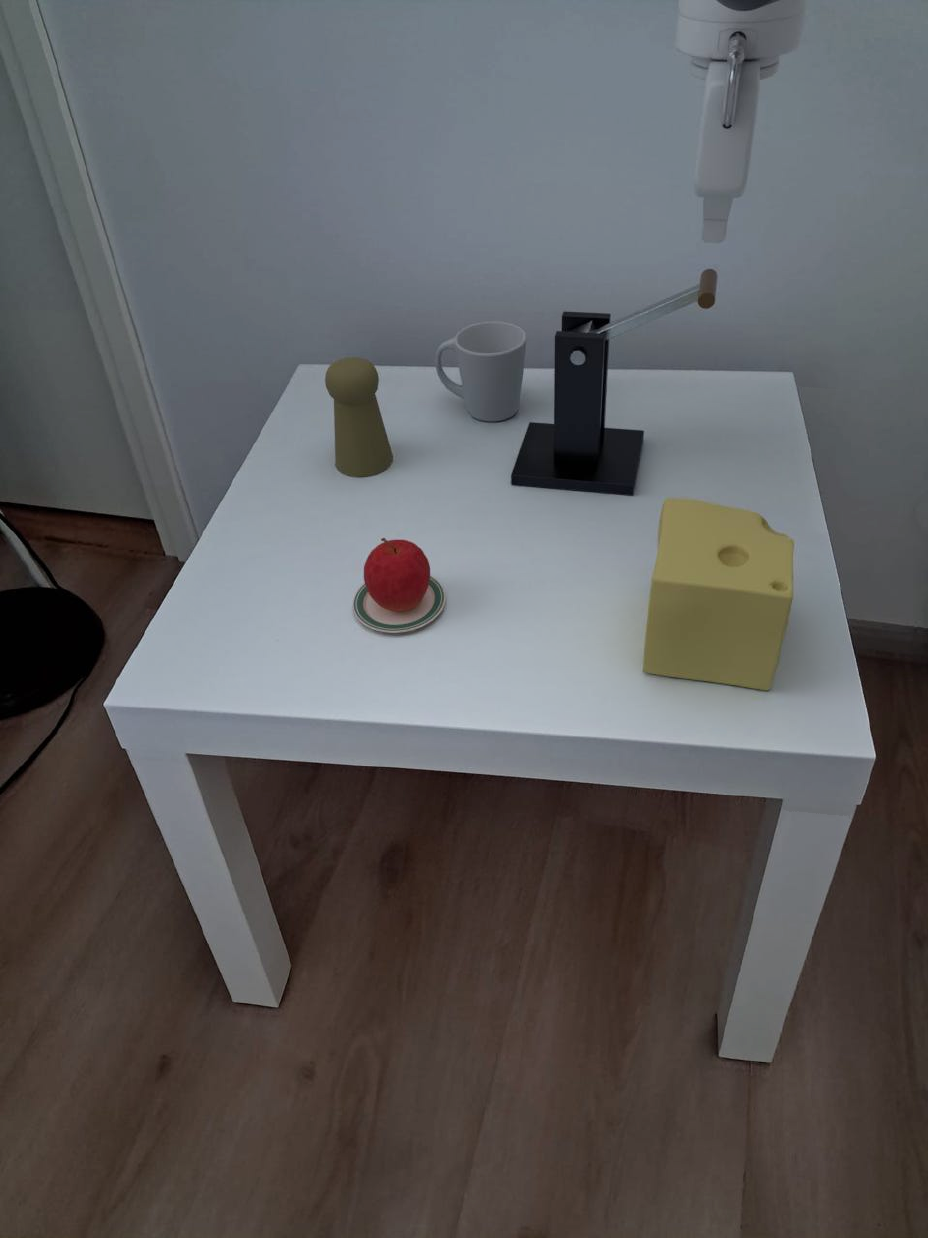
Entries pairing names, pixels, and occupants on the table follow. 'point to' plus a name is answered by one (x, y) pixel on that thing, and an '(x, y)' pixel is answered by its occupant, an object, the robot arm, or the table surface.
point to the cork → (357, 418)
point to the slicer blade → (660, 307)
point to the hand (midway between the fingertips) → (715, 216)
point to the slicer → (579, 422)
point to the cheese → (718, 595)
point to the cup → (487, 368)
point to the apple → (398, 589)
